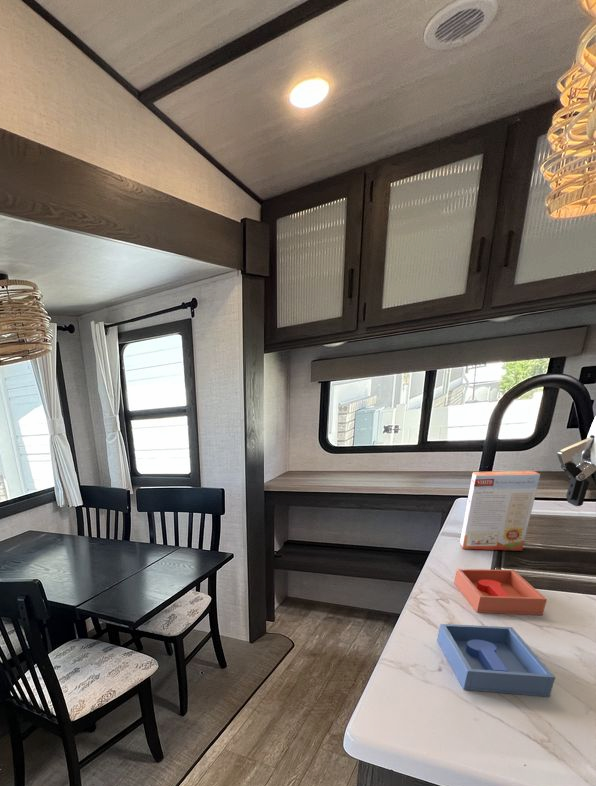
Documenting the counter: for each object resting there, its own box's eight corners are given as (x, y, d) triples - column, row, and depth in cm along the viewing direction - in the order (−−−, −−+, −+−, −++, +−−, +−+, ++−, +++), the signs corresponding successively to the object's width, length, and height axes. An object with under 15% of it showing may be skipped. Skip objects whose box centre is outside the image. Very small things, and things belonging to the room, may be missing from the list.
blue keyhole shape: (514, 681, 75) (517, 671, 75) (482, 679, 77) (485, 669, 76) (489, 647, 85) (492, 637, 84) (462, 645, 86) (464, 636, 86)
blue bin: (507, 644, 87) (512, 627, 85) (549, 697, 72) (555, 677, 71) (436, 640, 90) (440, 623, 89) (463, 689, 76) (467, 671, 74)
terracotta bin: (510, 584, 110) (513, 569, 108) (542, 615, 95) (547, 599, 94) (453, 582, 113) (456, 568, 112) (476, 612, 99) (480, 597, 97)
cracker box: (517, 545, 132) (535, 469, 123) (522, 551, 127) (542, 473, 119) (458, 542, 138) (472, 470, 129) (461, 549, 133) (476, 474, 124)
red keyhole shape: (515, 606, 99) (517, 597, 98) (491, 605, 100) (493, 596, 99) (495, 585, 108) (497, 577, 107) (474, 585, 110) (475, 577, 109)
